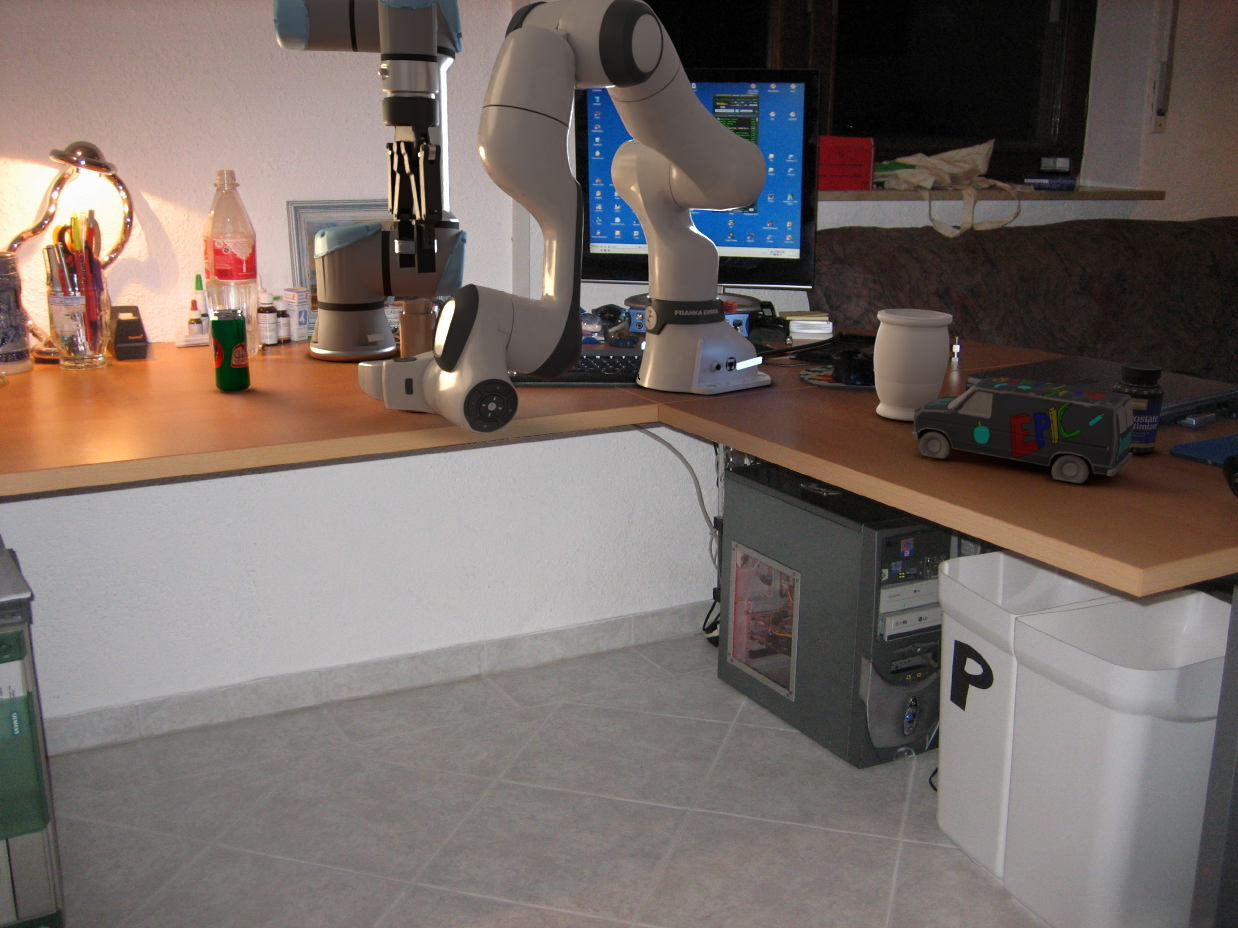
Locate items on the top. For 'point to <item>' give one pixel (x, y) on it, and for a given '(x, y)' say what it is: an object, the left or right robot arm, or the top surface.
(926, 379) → the jar
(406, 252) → the lid
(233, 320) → the soda can
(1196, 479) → the top surface
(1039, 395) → the toy van
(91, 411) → the top surface
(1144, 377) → the pill bottle
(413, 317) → the screw-top jar
